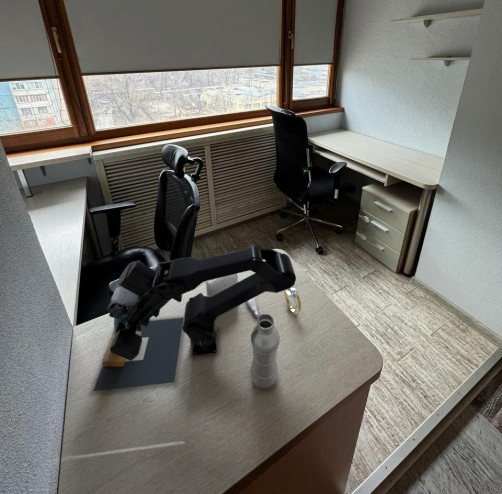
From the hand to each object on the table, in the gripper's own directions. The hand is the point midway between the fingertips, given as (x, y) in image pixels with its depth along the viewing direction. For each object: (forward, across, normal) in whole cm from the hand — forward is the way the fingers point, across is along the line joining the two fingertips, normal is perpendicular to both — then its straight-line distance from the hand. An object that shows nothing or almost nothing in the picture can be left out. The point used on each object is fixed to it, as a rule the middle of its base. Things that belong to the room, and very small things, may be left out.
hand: (116, 333), depth 70 cm
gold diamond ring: (-30, -7, +39) cm, 50 cm away
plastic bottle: (-21, +10, +32) cm, 39 cm away
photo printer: (-14, -12, +25) cm, 31 cm away
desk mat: (+1, 0, +9) cm, 9 cm away
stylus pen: (-20, -9, +28) cm, 35 cm away
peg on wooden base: (+5, 0, +4) cm, 6 cm away
